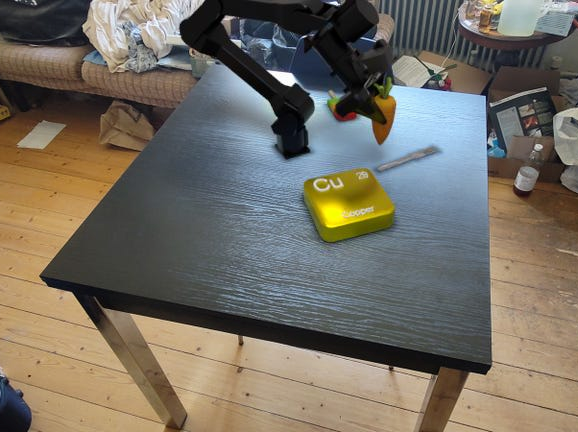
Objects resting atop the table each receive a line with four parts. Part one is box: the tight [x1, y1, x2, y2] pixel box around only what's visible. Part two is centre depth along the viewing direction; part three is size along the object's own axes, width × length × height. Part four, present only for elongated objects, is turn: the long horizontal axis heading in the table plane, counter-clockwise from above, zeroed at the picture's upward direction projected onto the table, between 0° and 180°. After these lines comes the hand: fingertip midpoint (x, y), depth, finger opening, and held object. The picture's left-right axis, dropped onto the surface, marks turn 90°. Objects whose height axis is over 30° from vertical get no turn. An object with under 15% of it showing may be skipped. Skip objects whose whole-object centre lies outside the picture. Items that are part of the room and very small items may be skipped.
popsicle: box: [326, 90, 358, 122], centre depth 119 cm, size 6×15×2 cm, turn 19°
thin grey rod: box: [376, 146, 439, 173], centre depth 102 cm, size 17×2×1 cm, turn 120°
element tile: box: [302, 167, 396, 243], centre depth 88 cm, size 15×15×5 cm
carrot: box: [371, 76, 397, 146], centre depth 90 cm, size 5×5×15 cm
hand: (389, 117), depth 90 cm, fingers closed on carrot, 5 cm apart
